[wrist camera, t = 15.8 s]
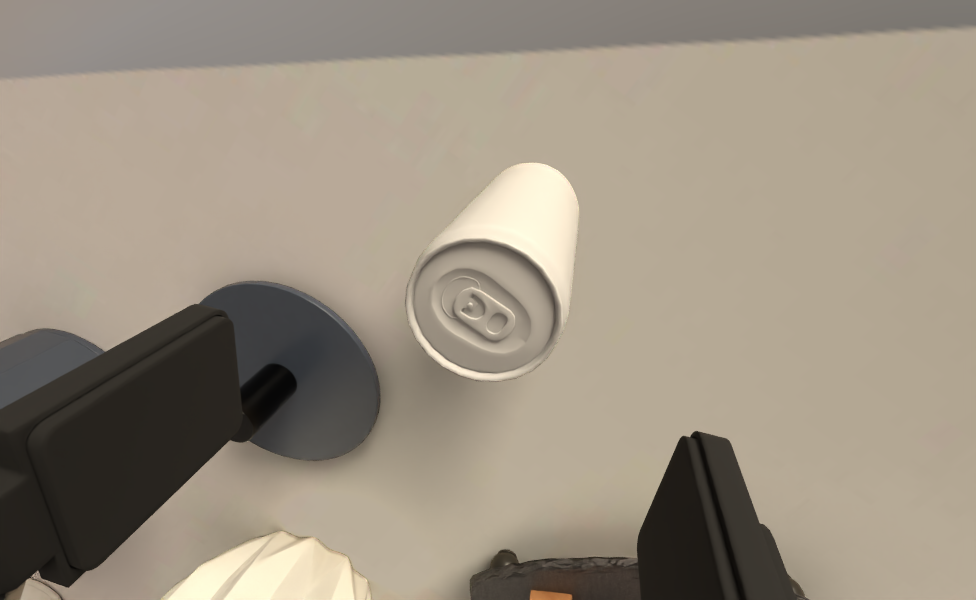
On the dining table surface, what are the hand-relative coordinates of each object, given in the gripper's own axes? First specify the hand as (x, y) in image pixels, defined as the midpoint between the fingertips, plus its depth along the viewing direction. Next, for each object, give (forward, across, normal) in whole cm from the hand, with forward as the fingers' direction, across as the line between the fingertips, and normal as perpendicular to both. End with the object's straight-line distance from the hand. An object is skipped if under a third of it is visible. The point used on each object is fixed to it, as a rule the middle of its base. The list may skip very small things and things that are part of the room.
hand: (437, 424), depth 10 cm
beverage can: (+16, 0, 0) cm, 17 cm away
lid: (+16, +14, +14) cm, 25 cm away
